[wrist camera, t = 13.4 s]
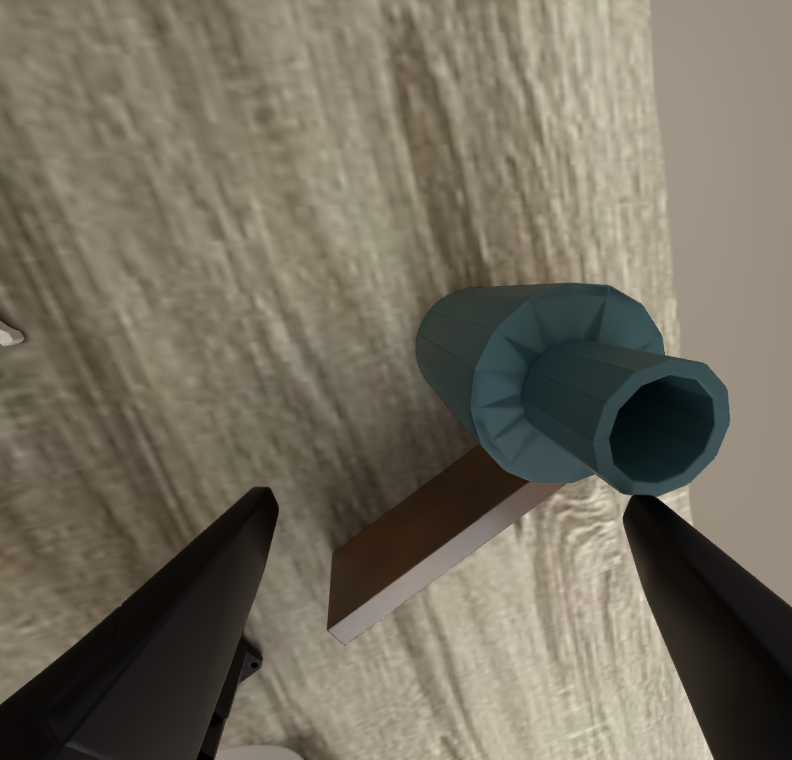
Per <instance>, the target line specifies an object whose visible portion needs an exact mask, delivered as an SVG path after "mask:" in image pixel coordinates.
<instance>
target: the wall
mask: <svg viewBox="0 0 792 760" xmlns="http://www.w3.org/2000/svg"><path fill="white" fill-rule="evenodd" d="M566 484H567V483H552V484H537V483H534V482H531V481H529V480H526V479H524V478H521V477H519V476H516V475H514V474H511V473H509V472H506V471H505V470H503V469H502V468H501V466H500V465H499V464H498V463H497V462H496V461H495V460H494V459H493V458H492V457H491V456H490V455H489V453H488V452H487V451H486V450H485V449H484V448H483V447H482V446H481V445H480V444H479V445H478V446H476V447H475V448H474V449H472V450H471V451H470V452H468V453H467V454H466V455H464V456H463V457H462V458H460V459H459V460H458V461H456V462H455V463H454V464H452V465H451V466H450V467H448V468H447V469H446V470H444V471H443V472H442V473H440V474H439V475H438V476H436V477H435V478H434V479H432V480H431V481H430V482H428V483H427V484H426V485H424V486H423V487H422V488H420V489H419V490H418V491H416V492H415V493H414V494H412V495H411V496H410V497H408V498H407V499H406V500H404V501H403V502H402V503H400V504H399V505H398V506H396V507H395V508H394V509H392V510H391V511H390V512H388V513H387V514H386V515H384V516H383V517H382V518H380V519H379V520H378V521H376V522H375V523H374V524H372V525H371V526H370V527H368V528H367V529H366V530H364V531H363V532H362V533H360V534H359V535H358V536H356V537H355V538H354V539H352V540H351V541H350V542H348V543H347V544H346V545H344V546H343V547H342V548H340V549H339V550H338V551H336V552H335V553H334V554H333V555H332V566H331V580H330V594H329V608H328V622H327V631H328V632H329V633H330V634H332V635H333V636H334V637H335V638H336V639H337V640H339V641H340V642H341V643H342V644H343V645H347V644H348V643H349V642H351V641H352V640H354V639H355V638H356V637H358V636H359V635H360V634H362V633H363V632H364V631H366V630H367V629H369V628H370V627H371V626H373V625H374V624H375V623H377V622H378V621H379V620H381V619H382V618H384V617H385V616H386V615H388V614H389V613H390V612H392V611H393V610H395V609H396V608H397V607H399V606H400V605H401V604H403V603H404V602H405V601H407V600H408V599H410V598H411V597H412V596H414V595H415V594H416V593H418V592H419V591H421V590H422V589H423V588H425V587H426V586H427V585H429V584H430V583H431V582H433V581H434V580H436V579H437V578H438V577H440V576H441V575H442V574H444V573H445V572H447V571H448V570H449V569H451V568H452V567H453V566H455V565H456V564H457V563H459V562H460V561H462V560H463V559H464V558H466V557H467V556H468V555H470V554H471V553H472V552H474V551H475V550H477V549H478V548H479V547H481V546H482V545H483V544H485V543H486V542H488V541H489V540H490V539H492V538H493V537H494V536H496V535H497V534H498V533H500V532H501V531H503V530H504V529H505V528H507V527H508V526H509V525H511V524H512V523H514V522H515V521H516V520H518V519H519V518H520V517H522V516H523V515H524V514H526V513H527V512H529V511H530V510H531V509H533V508H534V507H535V506H537V505H538V504H540V503H541V502H542V501H544V500H545V499H546V498H548V497H549V496H550V495H552V494H553V493H555V492H556V491H557V490H559V489H560V488H561V487H563V486H564V485H566Z"/></svg>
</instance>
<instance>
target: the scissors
mask: <svg viewBox="0 0 792 760" xmlns="http://www.w3.org/2000/svg"><path fill="white" fill-rule="evenodd" d="M23 340H24V337H23V335H22V334H21V332H20V331H18V330H15V329H13V328H11V327H9V326H7V325H5V324H4V323H3V322H1V321H0V344H2V345H3V346H8V345H14V344H18V343H21V342H22V341H23Z"/></svg>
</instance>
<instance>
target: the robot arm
mask: <svg viewBox="0 0 792 760" xmlns="http://www.w3.org/2000/svg"><path fill="white" fill-rule="evenodd" d="M278 513H279V506H278V503H277V501H276V499H275V497H274V494H273V492H272V490H271V488H269V487H262V486H257V487H254V488H252V489H251V490H249V491H248V492H247V493H246V494H245V495H244V496H243V497H242V498H240V499H239V500H238V501H237V502H236V503H235V504H234V505H233V506H231V507H230V508H229V509H228V510H227V511H226V512H225V513H224V514H222V515H221V516H220V517H219V518H218V519H217V520H216V521H215V522H213V523H212V524H211V525H210V526H209V527H208V528H207V529H206V530H204V531H203V532H202V533H201V534H200V535H199V536H198V537H197V538H195V539H194V540H193V541H192V542H191V543H190V544H189V545H188V546H186V547H185V548H184V549H183V550H182V551H181V552H180V553H179V554H177V555H176V556H175V557H174V558H173V559H172V560H171V561H169V562H168V563H167V564H166V565H165V566H164V567H163V568H162V569H160V570H159V571H158V572H157V573H156V574H155V575H154V576H153V577H151V578H150V579H149V580H148V581H147V582H146V583H145V584H144V585H142V586H141V587H140V588H139V589H138V590H137V591H136V592H135V593H133V594H132V595H131V596H130V597H129V598H128V599H127V600H126V601H124V602H123V603H122V605H121V606H120V607H118V608H116V609H115V610H114V611H113V612H112V613H111V614H110V615H109V616H107V617H106V618H105V619H104V620H103V621H102V622H101V623H99V624H98V625H97V626H96V627H95V628H94V629H93V630H91V631H90V632H89V633H88V634H87V635H86V636H84V637H83V638H82V639H81V640H80V641H79V642H77V643H76V644H75V645H74V646H73V647H71V648H70V649H69V650H68V651H67V652H65V653H64V654H63V655H62V656H60V657H59V658H58V659H57V660H56V661H54V662H53V663H52V664H51V665H49V666H48V667H47V668H46V669H44V670H43V671H42V672H41V673H39V674H38V675H37V676H36V677H34V678H33V679H32V680H31V681H29V682H28V683H27V684H26V685H24V686H23V687H22V688H21V689H19V690H18V691H17V692H16V693H14V694H13V695H12V696H11V697H9V698H8V699H7V700H6V701H4V702H3V703H2V704H0V760H214V759H215V756H216V753H217V749H218V746H219V742H220V739H221V736H222V732H223V729H224V725H225V722H226V719H227V718H228V717H229V714H230V711H231V708H232V704H233V701H234V697H235V694H236V690H237V687H238V684H240V683H241V682H242V681H244V680H245V679H246V678H248V677H249V676H250V675H252V674H253V673H254V672H256V671H257V670H258V669H260V668H261V665H262V661H263V657H262V656H261V655H260V654H259V653H258V652H256V651H255V650H254V649H252V648H251V647H250V646H249V645H247V644H246V643H245V642H243V641H242V640H241V639H240V637H241V634H242V631H243V628H244V626H245V623H246V620H247V617H248V614H249V612H250V609H251V606H252V603H253V601H254V598H255V595H256V592H257V589H258V587H259V584H260V581H261V578H262V575H263V572H264V569H265V565H266V562H267V558H268V554H269V550H270V546H271V542H272V538H273V534H274V530H275V526H276V522H277V518H278ZM623 525H624V528H625V532H626V535H627V538H628V542H629V545H630V548H631V552H632V555H633V558H634V561H635V565H636V568H637V571H638V575H639V578H640V581H641V584H642V587H643V590H644V593H645V596H646V598H647V601H648V603H649V606H650V608H651V611H652V613H653V615H654V618H655V620H656V623H657V625H658V627H659V630H660V632H661V634H662V637H663V639H664V642H665V644H666V646H667V649H668V651H669V654H670V656H671V658H672V661H673V663H674V665H675V668H676V670H677V673H678V675H679V677H680V680H681V682H682V684H683V687H684V689H685V692H686V694H687V696H688V699H689V701H690V704H691V706H692V708H693V711H694V713H695V715H696V718H697V720H698V723H699V725H700V727H701V730H702V732H703V735H704V737H705V739H706V742H707V744H708V746H709V749H710V751H711V754H712V756H713V758H714V760H792V607H791V606H790V605H789V604H787V603H786V602H785V601H784V600H782V599H781V598H780V597H779V596H777V595H776V594H775V593H774V592H772V591H771V590H770V589H769V588H768V587H766V586H765V585H764V584H762V583H761V582H760V581H759V580H758V579H756V578H755V577H754V576H753V575H752V574H750V573H749V572H748V571H747V570H745V569H744V568H743V567H742V566H740V565H739V564H738V563H737V562H736V561H734V560H733V559H732V558H731V557H729V556H728V555H727V554H726V553H724V552H723V551H722V550H721V549H720V548H718V547H717V546H716V545H715V544H713V543H712V542H711V541H710V540H708V539H707V538H706V537H705V536H703V535H702V534H701V533H700V532H698V531H697V530H696V529H695V528H694V527H692V526H691V525H690V524H689V523H687V522H686V521H685V520H684V519H683V518H681V517H680V516H679V515H678V514H676V513H675V512H674V511H673V510H671V509H670V508H669V507H668V506H667V505H665V504H664V503H663V502H662V501H660V500H659V499H658V498H656V497H655V496H653V495H639V494H636V495H633V496H632V497H631V498H630V501H629V503H628V505H627V508H626V510H625V512H624V515H623Z"/></svg>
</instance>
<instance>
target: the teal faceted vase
mask: <svg viewBox="0 0 792 760" xmlns="http://www.w3.org/2000/svg"><path fill="white" fill-rule="evenodd" d="M416 357H417V362H418V366H419V368H420V371H421V373H422V375H423V377H424V379H425V380H426V382H427V383H428V384H429V385H430V386H431V387H432V389H433V390H434V391H435V392H436V393H437V394H438V396H439V397H440V398H441V399H442V400H443V401H444V403H445V404H446V405H447V406H448V407H449V408H450V410H451V411H452V412H453V413H454V414H455V415H456V417H457V418H458V419H459V420H460V421H461V422H462V424H463V425H464V426H465V427H466V428H467V429H468V431H469V432H470V433H471V434H472V435H473V437H474V438H475V439H476V440H477V441H478V442H479V444H480V445H481V446H482V447H483V448H484V449H485V450H486V451H487V452H488V453H489V455H490V456H491V457H492V458H493V459H494V460H495V461H496V462H497V463H498V464H499V465H500V466H501V468H502V469H503V470H505V471H506V472H509V473H511V474H514V475H516V476H519V477H521V478H524V479H526V480H529V481H531V482H534V483H537V484H552V483H572V482H573V483H574V482H577V481H579V480H582V479H584V478H587V477H589V476H592V475H594V474H596V475H597V476H598V477H600V478H601V479H602V480H604V481H605V482H607V483H608V484H609V485H611V486H612V487H613V488H615V489H616V490H617V491H619V492H620V493H623V494H626V495H636V494H639V495H653V496H655V497H658V496H660V495H663V494H665V493H668V492H670V491H673V490H675V489H678V488H680V487H683V486H685V485H687V484H688V483H690V482H691V481H692V480H693V479H694V478H695V477H696V476H697V475H698V474H699V473H700V472H701V471H702V470H703V469H704V468H705V467H706V466H707V465H708V464H709V463H710V462H711V461H712V460H713V459H714V458H715V456H716V455H717V453H718V451H719V448H720V446H721V444H722V441H723V439H724V436H725V434H726V431H727V429H728V427H729V422H730V414H729V402H728V391H727V389H726V386H725V385H724V384H723V383H722V382H721V380H720V379H719V378H718V377H717V376H716V375H715V373H714V372H713V371H712V370H711V369H710V368H709V367H708V366H707V365H706V364H704V363H701V362H697V361H691V360H686V359H681V358H676V357H671V356H666V355H665V352H664V345H663V337H662V335H661V333H660V331H659V330H658V328H657V327H656V325H655V323H654V322H653V320H652V319H651V317H650V316H649V314H648V312H647V311H646V309H645V308H644V306H643V305H642V304H641V303H639V302H637V301H636V300H634V299H632V298H631V297H629V296H627V295H625V294H624V293H622V292H620V291H619V290H617V289H615V288H613V287H612V286H609V285H599V284H582V283H556V284H535V285H515V286H494V287H474V288H467V289H463V290H460V291H456V292H454V293H451V294H449V295H447V296H446V297H444V298H442V299H441V300H440V301H438V302H437V303H436V304H435V305H434V306H433V307H432V308H431V309H430V310H429V312H428V313H427V314H426V316H425V318H424V319H423V321H422V323H421V326H420V328H419V331H418V335H417V340H416Z"/></svg>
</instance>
